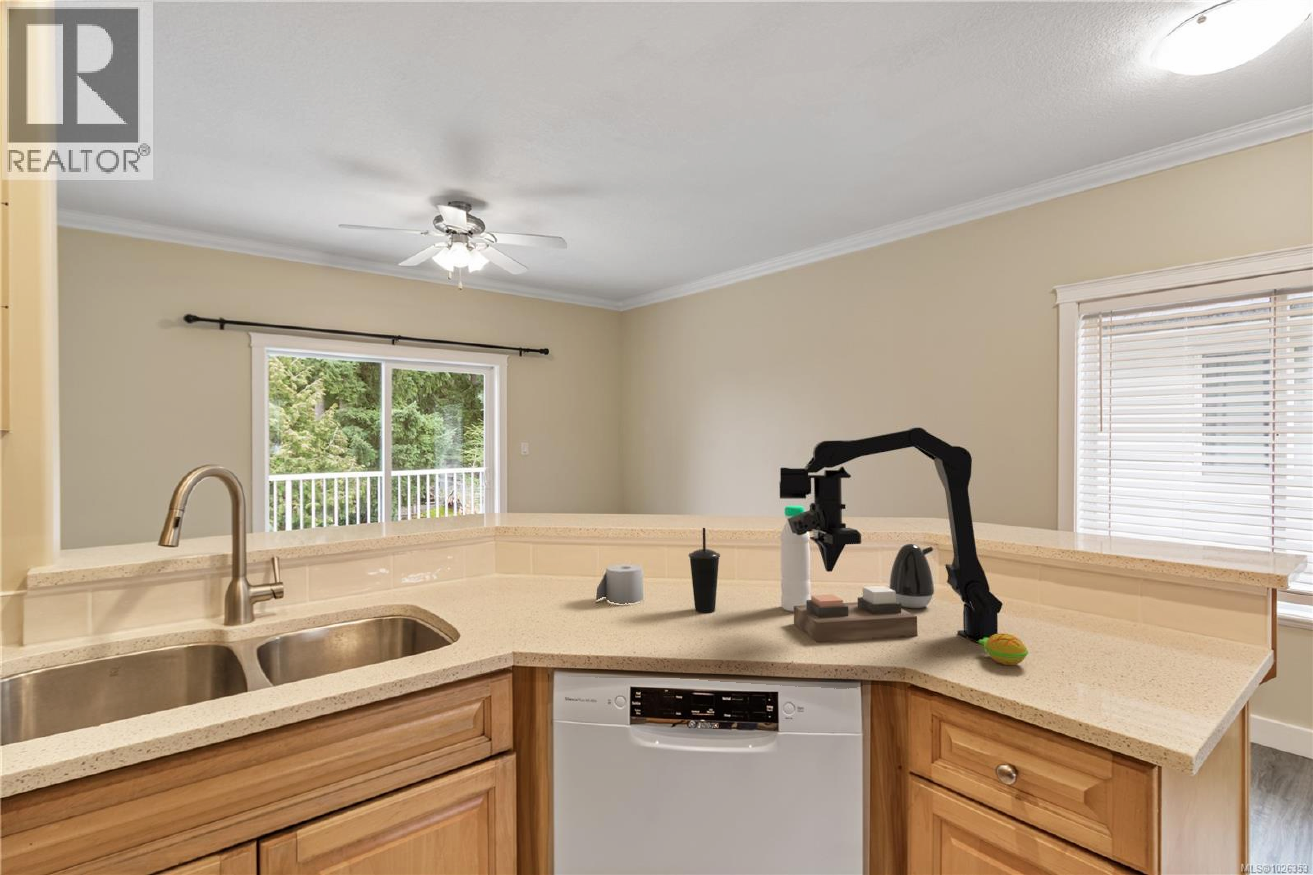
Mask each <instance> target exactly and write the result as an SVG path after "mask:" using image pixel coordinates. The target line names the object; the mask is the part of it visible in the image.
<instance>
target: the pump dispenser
mask: <svg viewBox="0 0 1313 875" xmlns="http://www.w3.org/2000/svg"><path fill="white" fill-rule="evenodd" d="M933 551H934V548H933V547H932V546H929V547H926V548H923V549H921V547H920V546H918V545H917V544H914V543H907V544H905V545H902V547H901V548H900V549H899V550H898V552H897V554H896V556H895V558H894V561H893V563H892V567H891V572H890V577H889V585H888V586H889V587H888V588H889V589H892V590H894V591H896V601H897V602H899V603H901V607H904V608H906V609H908V608H909V609H921V608H924V607H927V606H928V605H929V604H930V602H931V600H932V599H933V595H935V594H934V593H935V586H934V580H933V574H932V570H931V567H930V564H929V561H928V559H927V557H926V555H927V554H930V553H931V552H933Z"/></svg>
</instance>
